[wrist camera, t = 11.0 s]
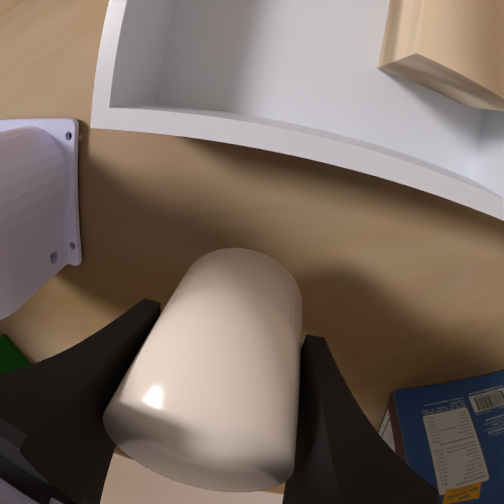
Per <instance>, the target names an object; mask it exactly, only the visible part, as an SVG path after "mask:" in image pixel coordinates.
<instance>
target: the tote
mask: <svg viewBox="0 0 504 504" xmlns="http://www.w3.org/2000/svg"><path fill="white" fill-rule="evenodd" d="M389 3H390V0H109V4H108V9H107V13H106V17H105V22H104V27H103V32H102V37H101V43H100V48H99V54H98V61H97V68H96V75H95V83H94V91H93V101H92V112H91V125H90V128H100V129H114V130H127V131H138V132H149V133H158V134H167V135H175V136H183V137H191V138H198V139H205V140H211V141H218V142H224V143H230V144H236V145H242V146H247V147H253V148H258V149H263V150H269V151H274V152H279V153H283V154H288V155H293V156H297V157H302V158H306V159H311V160H315V161H319V162H323V163H328V164H332V165H336V166H340V167H344V168H347V169H351V170H355V171H359V172H362V173H366V174H370V175H373V176H377V177H380V178H384V179H387V180H390V181H394V182H397V183H400V184H404V185H407V186H410V187H413V188H416V189H419V190H422V191H425V192H428V193H431V194H434V195H437V196H440V197H443V198H446V199H449V200H451V201H454V202H457V203H460V204H462V205H465V206H468V207H470V208H473V209H476V210H478V211H481V212H483V213H486V214H488V215H491V216H493V217H496V218H498V219H501V220H503V221H504V111H497V110H490V109H482V108H474V107H466V106H464V105H462V104H460V103H458V102H456V101H454V100H452V99H450V98H448V97H446V96H444V95H442V94H440V93H438V92H435V91H433V90H431V89H429V88H426V87H424V86H422V85H419V84H417V83H415V82H412V81H410V80H407V79H405V78H402V77H400V76H397V75H394V74H392V73H389V72H386V71H383V70H381V69H378V68H377V66H378V61H379V57H380V52H381V47H382V42H383V37H384V31H385V26H386V20H387V15H388V9H389Z"/></svg>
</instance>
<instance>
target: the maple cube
mask: <svg viewBox="0 0 504 504" xmlns="http://www.w3.org/2000/svg"><path fill="white" fill-rule="evenodd" d="M377 68H378V69H381V70H383V71H386V72H389V73H392V74H394V75H397V76H400V77H402V78H405V79H407V80H410V81H412V82H415V83H417V84H419V85H422V86H424V87H426V88H429V89H431V90H433V91H435V92H438V93H440V94H442V95H444V96H446V97H448V98H450V99H452V100H454V101H456V102H458V103H460V104H462V105H464V106H466V107H474V108H482V109H490V110H497V111H504V0H390V3H389V9H388V15H387V20H386V26H385V31H384V37H383V42H382V47H381V52H380V57H379V61H378V66H377Z"/></svg>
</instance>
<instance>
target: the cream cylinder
mask: <svg viewBox="0 0 504 504" xmlns="http://www.w3.org/2000/svg"><path fill="white" fill-rule="evenodd" d="M301 334H302V296H301V292H300V289H299V287H298V284H297V282H296V280H295V279H294V277H293V276H292V275H291V273H290V272H289V271H288V270H287V269H286V268H285V267H284V266H283V265H282V264H280V263H279V262H278V261H276V260H275V259H273V258H271V257H269V256H267V255H266V254H263V253H260V252H258V251H254V250H250V249H244V248H225V249H219V250H215V251H212V252H210V253H207V254H205V255H204V256H202V257H200V258H199V259H198V260H196V261H195V262H194V263H193V264H192V265H191V266H190V268H189V269H188V271H187V272H186V274H185V275H184V277H183V279H182V280H181V282H180V283H179V285H178V287H177V288H176V290H175V292H174V293H173V295H172V296H171V298H170V300H169V301H168V303H167V305H166V306H165V308H164V310H163V311H162V313H161V315H160V316H159V318H158V320H157V321H156V323H155V325H154V326H153V328H152V330H151V331H150V333H149V335H148V336H147V338H146V340H145V341H144V343H143V345H142V346H141V348H140V350H139V352H138V353H137V355H136V357H135V358H134V360H133V362H132V364H131V365H130V367H129V369H128V371H127V372H126V374H125V376H124V378H123V379H122V381H121V383H120V385H119V387H118V388H117V390H116V392H115V394H114V395H113V397H112V399H111V401H110V403H109V404H108V406H107V408H106V410H105V412H104V414H103V425H104V428H105V430H106V432H107V434H108V435H109V437H110V438H111V439H112V441H113V442H114V443H115V444H116V445H117V446H118V447H119V448H120V449H121V450H122V451H123V452H124V453H126V454H127V455H128V456H129V457H131V458H132V459H134V460H135V461H136V462H138V463H140V464H141V465H143V466H145V467H146V468H148V469H150V470H152V471H154V472H156V473H158V474H160V475H162V476H164V477H167V478H169V479H172V480H174V481H177V482H181V483H183V484H187V485H190V486H194V487H198V488H203V489H209V490H214V491H222V492H254V491H261V490H266V489H270V488H273V487H276V486H278V485H280V484H282V483H284V482H285V481H287V480H288V479H289V478H290V477H291V475H292V473H293V472H294V463H295V451H296V437H297V422H298V406H299V387H300V364H301Z"/></svg>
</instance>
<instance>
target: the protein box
mask: <svg viewBox="0 0 504 504" xmlns="http://www.w3.org/2000/svg"><path fill="white" fill-rule="evenodd" d="M378 434H379V435H380V436H381V437H382V439H383V440H384V441H385V442H386V443H387V444H388V445H389V446H390V448H391V449H392V450H393V451H394V452H395V453H396V454H397V455H398V456H399V457H400V458H401V459H402V460H403V461H404V462H405V463H406V464H407V465H408V466H409V467H410V468H411V469H412V470H413V471H415V472H416V473H417V474H418V475H419V476H421V477H422V478H423V479H424V480H426V481H427V482H428V483H430V484H431V485H432V486H433V487H435V488H436V489H437V490H438V494H439V498H440V504H504V370H502V371H499V372H494V373H490V374H486V375H482V376H478V377H473V378H468V379H463V380H458V381H453V382H448V383H442V384H436V385H430V386H424V387H417V388H410V389H403V390H396V391H393V392H392V394H391V397H390V400H389V403H388V406H387V409H386V412H385V415H384V417H383V420H382V423H381V425H380V428H379V431H378Z"/></svg>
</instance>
